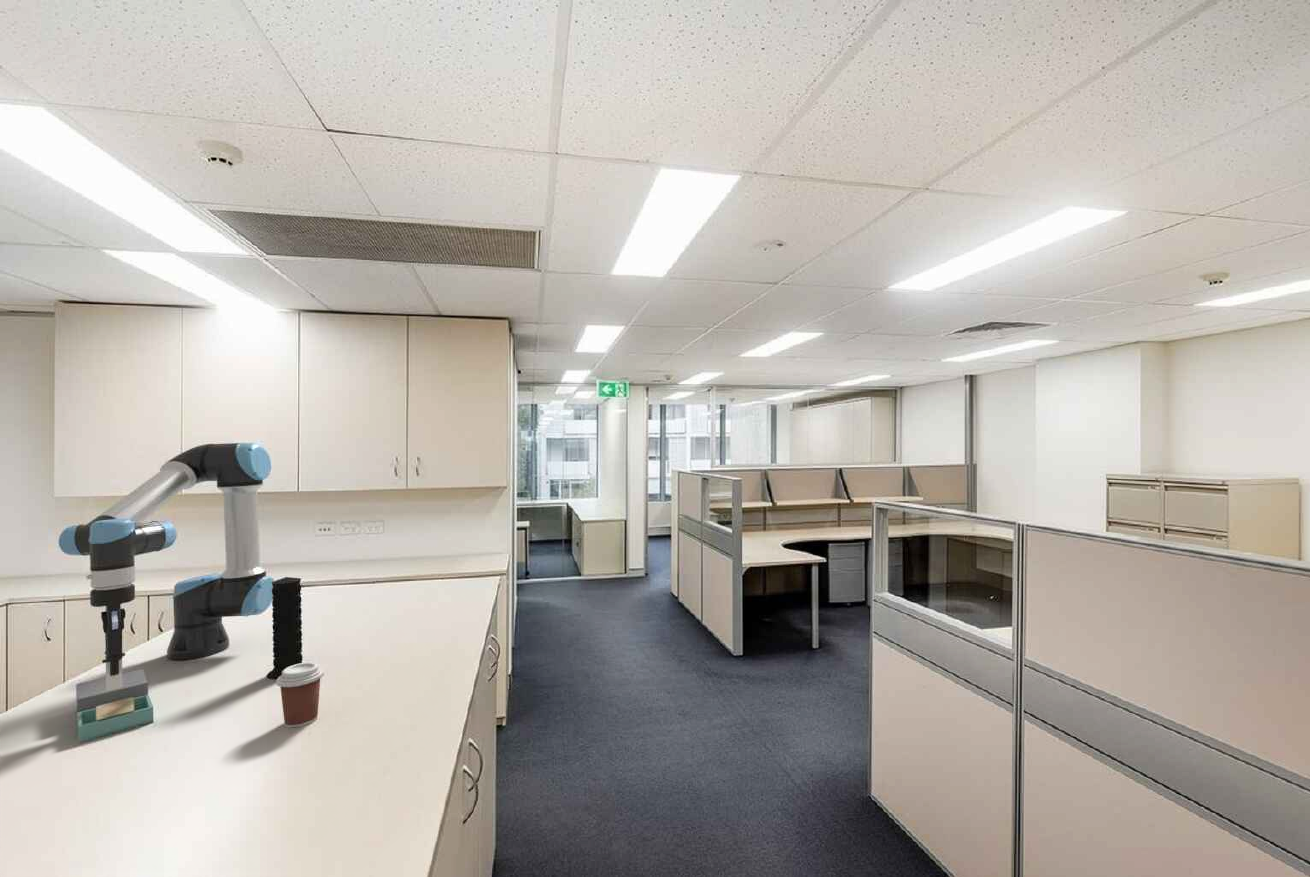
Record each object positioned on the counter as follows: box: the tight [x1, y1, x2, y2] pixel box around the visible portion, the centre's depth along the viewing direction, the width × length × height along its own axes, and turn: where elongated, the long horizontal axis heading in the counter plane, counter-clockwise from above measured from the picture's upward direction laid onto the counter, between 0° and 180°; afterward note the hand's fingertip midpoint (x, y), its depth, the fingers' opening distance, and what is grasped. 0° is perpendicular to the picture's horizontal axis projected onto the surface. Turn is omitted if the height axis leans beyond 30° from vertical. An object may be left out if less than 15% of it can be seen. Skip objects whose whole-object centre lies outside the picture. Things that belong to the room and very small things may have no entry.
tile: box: [96, 697, 134, 721], centre depth 127 cm, size 6×6×3 cm
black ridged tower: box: [265, 576, 304, 680], centre depth 157 cm, size 10×26×10 cm
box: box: [77, 694, 154, 744], centre depth 128 cm, size 12×10×4 cm
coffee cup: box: [276, 661, 325, 729], centre depth 128 cm, size 9×9×12 cm
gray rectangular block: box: [75, 668, 149, 726], centre depth 137 cm, size 12×13×6 cm
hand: (114, 687), depth 131 cm, fingers closed
